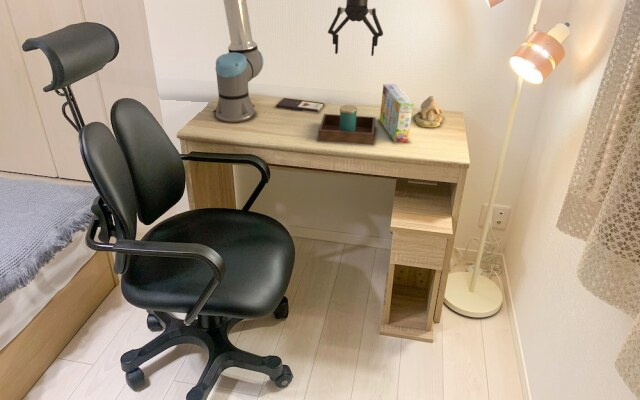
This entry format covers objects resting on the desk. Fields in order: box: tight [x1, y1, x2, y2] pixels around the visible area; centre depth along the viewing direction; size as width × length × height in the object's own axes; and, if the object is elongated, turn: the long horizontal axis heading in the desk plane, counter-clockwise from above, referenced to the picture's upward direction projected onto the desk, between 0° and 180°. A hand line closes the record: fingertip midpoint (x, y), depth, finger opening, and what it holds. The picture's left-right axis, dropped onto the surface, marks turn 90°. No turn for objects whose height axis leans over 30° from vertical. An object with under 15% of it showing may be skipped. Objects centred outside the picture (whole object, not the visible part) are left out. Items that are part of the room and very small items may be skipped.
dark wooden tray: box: [318, 113, 376, 145], centre depth 177 cm, size 20×16×4 cm
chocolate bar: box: [275, 97, 325, 113], centre depth 201 cm, size 9×1×18 cm
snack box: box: [379, 83, 414, 143], centre depth 177 cm, size 21×6×15 cm, turn 9°
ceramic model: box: [414, 95, 444, 128], centre depth 187 cm, size 14×11×10 cm
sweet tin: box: [339, 104, 358, 132], centre depth 175 cm, size 6×6×10 cm
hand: (354, 54), depth 181 cm, fingers open, 13 cm apart
